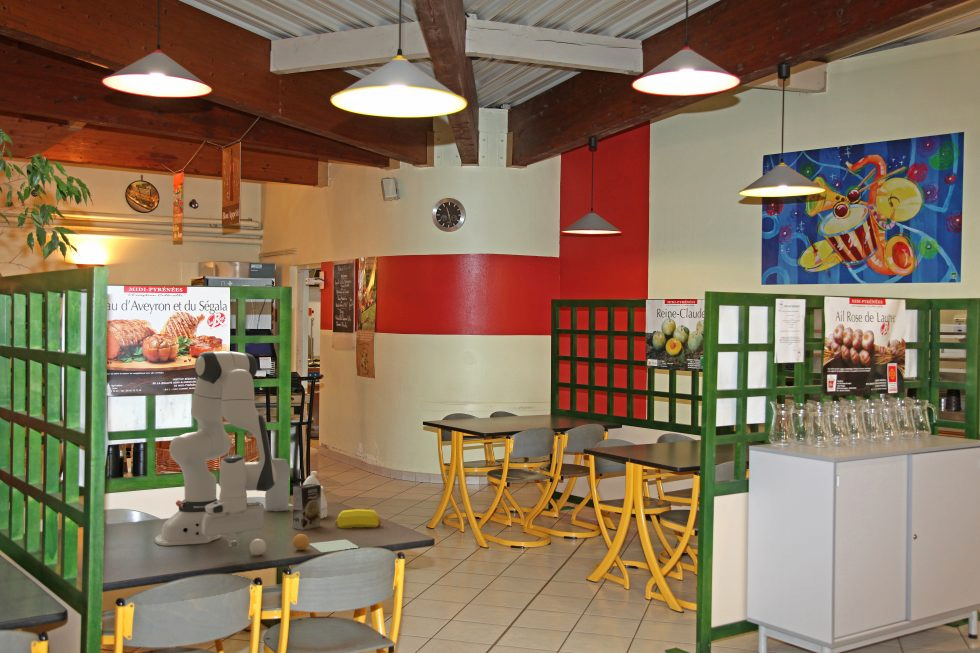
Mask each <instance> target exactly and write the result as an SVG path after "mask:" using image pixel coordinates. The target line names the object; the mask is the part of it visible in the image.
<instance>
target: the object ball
mask: <svg viewBox="0 0 980 653" xmlns="http://www.w3.org/2000/svg"><path fill="white" fill-rule="evenodd" d="M292 540H293V541H292V545H293V548H295V550H297V551H305V549H307V548H308V547H309V546H310V545H309V543H310V539H309V537H308V536H307V535H306V534H304V533H303V534H302V533H299V534H296V535H295V536H294V537H293V539H292Z"/></svg>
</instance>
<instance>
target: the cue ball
mask: <svg viewBox="0 0 980 653" xmlns="http://www.w3.org/2000/svg"><path fill="white" fill-rule="evenodd" d="M248 548H249V551H250V553H251V554H252V555H254V556H261V555H263V554H264V552H266V550H267V544H266V541H265V540H264V539H261V538H255V539H253V540H252V541H250V544H249V547H248Z"/></svg>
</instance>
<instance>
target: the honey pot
mask: <svg viewBox="0 0 980 653" xmlns="http://www.w3.org/2000/svg"><path fill="white" fill-rule="evenodd" d="M317 474H318V471H315V470H313V471H310V475H309V476H307V478H306V479H305V480H304V482H303V483H302V485H306V484H316V485H321V484H320V481H319V480H318V479H317V477H316V476H317ZM324 489H325V488H324V486H322V485H321V515H320V518H321V519H323V518H324V517H325V518H327V517H328V502H327V501H326V500H327V499H326V497H325V493H324V492H323V490H324ZM325 518H324V519H325Z"/></svg>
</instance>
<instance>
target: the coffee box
mask: <svg viewBox="0 0 980 653" xmlns="http://www.w3.org/2000/svg"><path fill="white" fill-rule="evenodd" d="M321 486H322V485H321V484H320V485H316V484H306V485H303V484H301V485H295V486H293V487H292V488H293V490H292V493H293V494H292V529H297V530H300V529H301V531H305V530H309V529H314V527H315V528H319V527H321V519H320V515H321ZM318 526H319V527H318Z"/></svg>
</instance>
